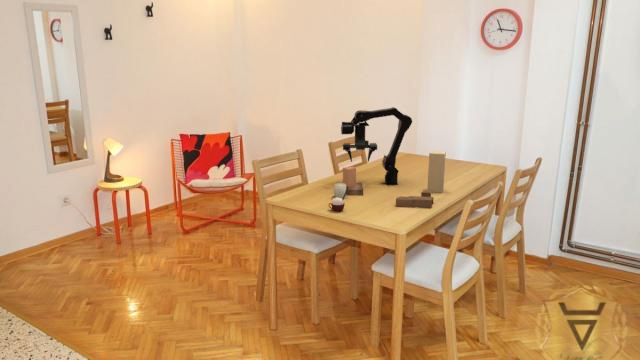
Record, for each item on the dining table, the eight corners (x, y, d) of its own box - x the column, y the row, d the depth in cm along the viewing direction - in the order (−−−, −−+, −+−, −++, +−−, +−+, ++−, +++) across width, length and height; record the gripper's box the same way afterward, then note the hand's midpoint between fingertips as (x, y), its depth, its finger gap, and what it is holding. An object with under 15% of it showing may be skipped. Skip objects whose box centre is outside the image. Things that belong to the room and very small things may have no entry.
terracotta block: (350, 184, 283) (350, 166, 280) (356, 186, 279) (356, 168, 276) (342, 185, 280) (342, 167, 277) (348, 187, 276) (348, 169, 273)
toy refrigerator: (444, 189, 282) (446, 151, 276) (442, 193, 275) (444, 154, 269) (429, 188, 284) (430, 150, 279) (427, 192, 277) (428, 153, 272)
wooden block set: (434, 197, 250) (396, 196, 253) (433, 209, 251) (395, 207, 254) (433, 188, 266) (397, 186, 269) (432, 198, 267) (396, 197, 270)
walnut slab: (362, 187, 287) (362, 182, 286) (363, 195, 273) (363, 189, 272) (336, 187, 287) (336, 182, 286) (336, 195, 274) (336, 189, 273)
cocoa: (327, 211, 249) (325, 187, 246) (333, 207, 254) (332, 183, 251) (344, 213, 244) (343, 189, 241) (351, 209, 250) (349, 185, 246)
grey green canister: (346, 195, 272) (346, 182, 271) (346, 199, 267) (346, 186, 265) (334, 195, 273) (334, 182, 271) (334, 199, 267) (334, 186, 265)
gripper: (343, 136, 278) (343, 165, 283) (378, 136, 278) (377, 165, 282) (342, 133, 289) (342, 160, 293) (376, 132, 289) (376, 160, 293)
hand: (359, 161), depth 290 cm, fingers open, 9 cm apart
